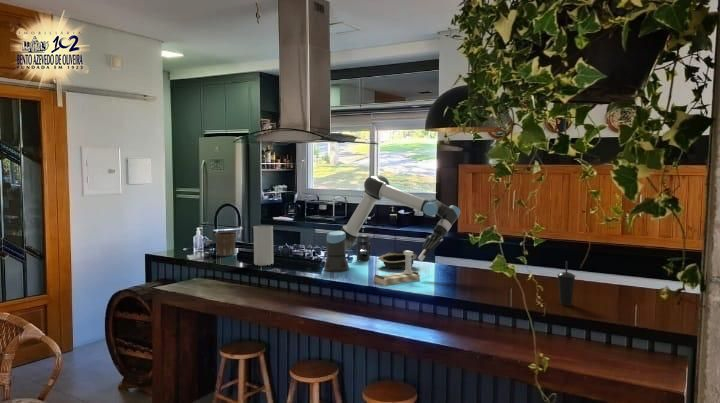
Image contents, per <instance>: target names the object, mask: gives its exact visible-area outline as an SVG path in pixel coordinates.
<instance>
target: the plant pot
mask: <svg viewBox="0 0 720 403" xmlns="http://www.w3.org/2000/svg"><path fill="white" fill-rule="evenodd" d="M237 234H238V233H237V232H236V231H235V232H233V231H223V232H214V233H213V235H214V240H215V243H216V244H215V246H216V254H217V256H218V257H219V256H220V257H223V256H225V257H230V256H231V255H233V256H234V255H235V252H236V251H235V250H236V249H235V248H236V239H237Z"/></svg>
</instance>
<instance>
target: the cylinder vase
mask: <svg viewBox="0 0 720 403" xmlns="http://www.w3.org/2000/svg"><path fill="white" fill-rule="evenodd" d="M252 228H253V264H254V265H255V266H257V265H258V266H259V267H265V266H267V265H268V266H272V265H273V264H274V226H273V225H254V226H252ZM271 264H272V265H271ZM268 266H267V267H268Z"/></svg>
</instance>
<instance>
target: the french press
mask: <svg viewBox="0 0 720 403" xmlns="http://www.w3.org/2000/svg"><path fill="white" fill-rule="evenodd" d="M365 228H367V226H361V228H360V229H362V231H364V230H365ZM370 236H371V235H370V234H359V236H358V237H357V240H358V239H362V240H369V239H370ZM356 245H357V254H356V259H357V260H360V261H359V262H369V261H371V242H370V241H357V242H356ZM361 246H362V247H364V246H365V249H364V248H362V249H361ZM361 253H362V254H361ZM357 260H356V261H357ZM368 260H369V261H368Z"/></svg>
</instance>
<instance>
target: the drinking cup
mask: <svg viewBox="0 0 720 403" xmlns="http://www.w3.org/2000/svg"><path fill="white" fill-rule="evenodd" d="M556 275H557V282H558V293H559V304H560V306H563V307H564V306H565V307H572V305H573V297H574V287H575V281H576V280H575V278H576V274H574V273H572V272H569V271H568V260H565V271H562V272H560V273H557V274H556Z"/></svg>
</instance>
